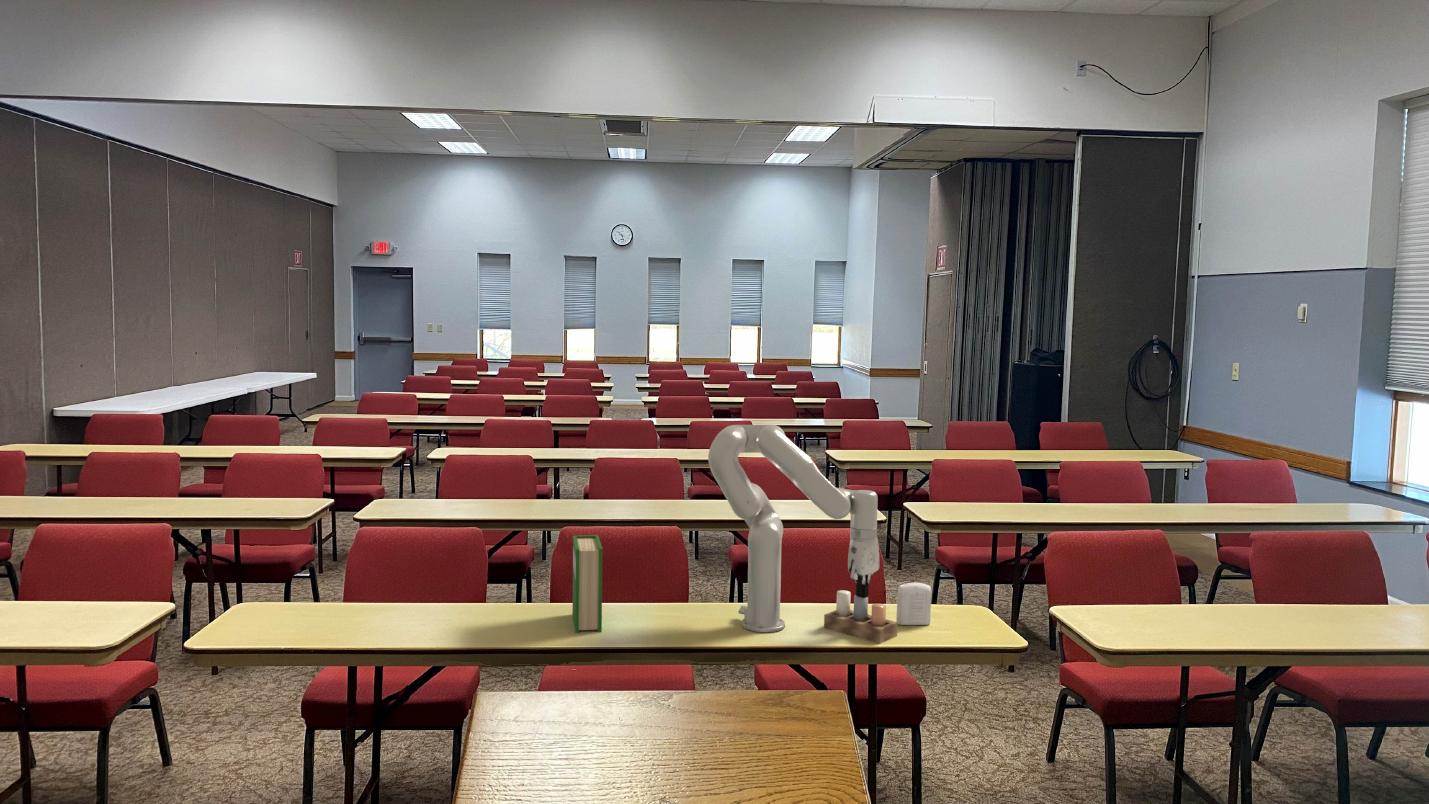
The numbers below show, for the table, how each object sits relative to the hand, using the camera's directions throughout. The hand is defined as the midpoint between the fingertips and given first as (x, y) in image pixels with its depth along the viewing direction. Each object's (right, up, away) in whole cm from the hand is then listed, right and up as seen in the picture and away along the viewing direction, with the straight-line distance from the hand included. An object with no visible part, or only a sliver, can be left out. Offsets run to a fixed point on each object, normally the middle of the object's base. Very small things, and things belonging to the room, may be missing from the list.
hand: (862, 596), depth 262 cm
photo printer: (+17, -10, +9) cm, 22 cm away
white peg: (-5, -7, +5) cm, 9 cm away
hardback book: (-80, -9, +4) cm, 80 cm away
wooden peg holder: (0, -10, +1) cm, 11 cm away
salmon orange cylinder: (+4, -9, -3) cm, 10 cm away
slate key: (0, -7, +1) cm, 7 cm away
